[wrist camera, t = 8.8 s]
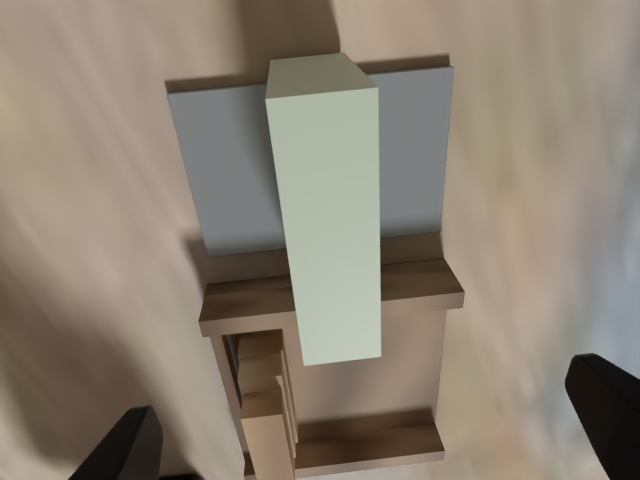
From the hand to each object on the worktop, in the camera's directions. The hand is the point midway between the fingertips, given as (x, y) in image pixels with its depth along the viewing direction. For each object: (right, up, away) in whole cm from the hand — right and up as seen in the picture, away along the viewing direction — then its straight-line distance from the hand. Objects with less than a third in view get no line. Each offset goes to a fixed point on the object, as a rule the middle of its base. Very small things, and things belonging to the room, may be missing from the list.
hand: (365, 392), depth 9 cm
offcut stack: (-4, -5, +17) cm, 18 cm away
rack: (0, -4, +18) cm, 18 cm away
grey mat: (-1, +7, +11) cm, 13 cm away
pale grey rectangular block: (-1, +6, +11) cm, 13 cm away
